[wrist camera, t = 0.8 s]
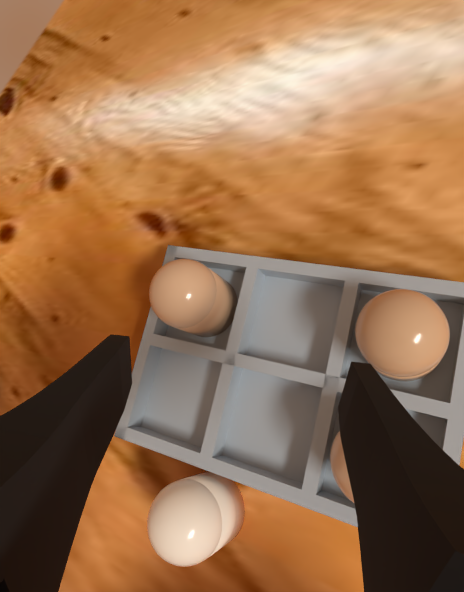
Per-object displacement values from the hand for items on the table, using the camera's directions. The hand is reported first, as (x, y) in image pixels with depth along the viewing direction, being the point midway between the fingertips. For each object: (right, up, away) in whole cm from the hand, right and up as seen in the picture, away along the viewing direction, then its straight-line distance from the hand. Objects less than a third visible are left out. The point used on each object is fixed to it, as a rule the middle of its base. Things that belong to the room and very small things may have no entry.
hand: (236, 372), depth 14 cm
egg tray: (+4, -3, +14) cm, 14 cm away
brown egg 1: (-2, +2, +16) cm, 16 cm away
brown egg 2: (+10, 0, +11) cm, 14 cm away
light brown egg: (-1, -11, +14) cm, 18 cm away
